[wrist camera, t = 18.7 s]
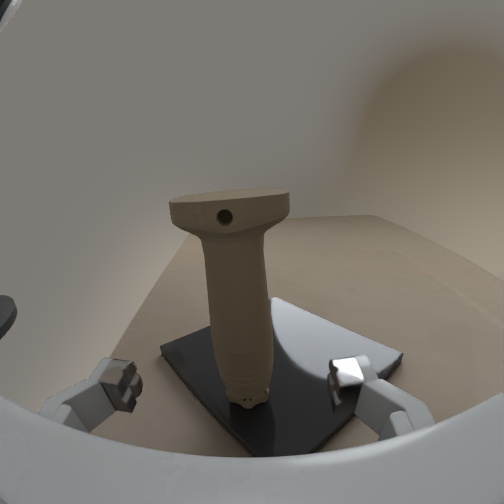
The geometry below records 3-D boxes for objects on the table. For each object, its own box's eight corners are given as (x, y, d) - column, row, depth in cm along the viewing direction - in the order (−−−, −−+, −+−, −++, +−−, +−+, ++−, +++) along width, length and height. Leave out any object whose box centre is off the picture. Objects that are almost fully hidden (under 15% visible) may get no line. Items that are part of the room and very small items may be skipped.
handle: (293, 416, 17) (294, 195, 12) (204, 418, 17) (156, 206, 12) (287, 373, 21) (284, 186, 17) (212, 375, 22) (182, 194, 17)
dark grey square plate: (279, 479, 12) (279, 474, 12) (161, 353, 26) (159, 345, 26) (401, 360, 22) (403, 352, 21) (275, 303, 35) (275, 296, 35)
